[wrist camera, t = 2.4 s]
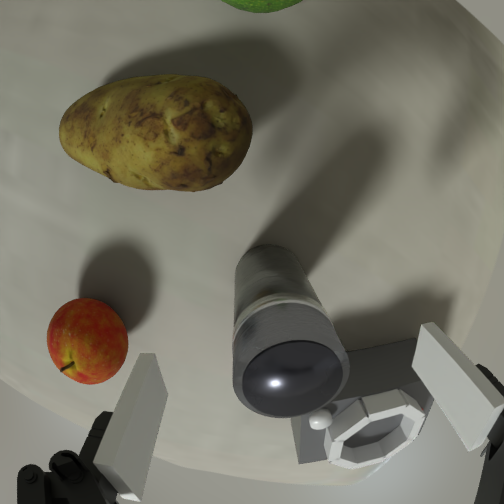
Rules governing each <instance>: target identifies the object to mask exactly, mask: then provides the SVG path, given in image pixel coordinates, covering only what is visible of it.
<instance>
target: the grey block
mask: <svg viewBox="0 0 504 504" xmlns="http://www.w3.org/2000/svg"><path fill="white" fill-rule="evenodd" d="M417 342H418V341H417V340H416V338H413V339H409V340H405V341H401V342H396V343H392V344H387V345H382V346H377V347H372V348H367V349H362V350H356V351H351V352H346V353H347V355H348V358H349V362H350V372H349V377H348V380H347V382H346V384H345V386H344V388H343V389H342V391H341V392H340V393H339V394H338V395H337V396H336V398H334V399H333V400H332V401H331V402H330V403H328V404H327V405H325V406H324V407H322V408H320V409H318V410H316V411H314V412H312V413H309V414H306V415H302V416H298V417H291V425H292V430H293V435H294V441H295V446H296V452H297V457H298V462H299V464H303V463H310V462H316V461H321V460H327V459H328V462H329V463H331V464H334V465H337V466H341V467H344V468H347V469H352V468H353V469H356V468H360V467H364V466H368V465H372V464H375V463H379V462H382V461H384V460H385V459H389V458H390V457H392V456H393V455H394V454H396V453H397V452H399V451H400V450H401V449H403V448H404V447H405V446H407V445H408V444H410V443H411V442H412V441H413V440H414V438H416V437H417V435H419V433H420V431H421V429H422V427H423V425H424V422H425V420H426V418H427V416H428V413H429V411H430V409H431V406H432V404H433V401H434V398H433V396H432V395H431V393H430V392H429V390H428V389H427V388H426V386H425V385H424V383H423V382H422V380H421V379H420V377H419V376H418V375H417V373H416V372H415V370H414V369H413V368H412V363H413V359H414V355H415V351H416V346H417Z"/></svg>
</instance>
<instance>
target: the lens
mask: <svg viewBox="0 0 504 504" xmlns="http://www.w3.org/2000/svg"><path fill="white" fill-rule="evenodd" d="M232 351H233V388H234V391H235V393H236V396H237V397H238V399H239V400H240V401H241V402H242V403H243V404H244V405H245V406H246V407H247V408H249V409H250V410H252V411H254V412H256V413H258V414H261V415H264V416H268V417H275V418H291V417H298V416H302V415H306V414H309V413H312V412H314V411H316V410H318V409H320V408H322V407H324V406H325V405H327V404H328V403H330V402H331V401H332V400H333V399H334V398H336V396H337V395H338V394H339V393H340V392H341V391H342V389H343V388H344V386H345V384H346V382H347V380H348V377H349V372H350V362H349V358H348V355H347V353H346V351H345V349H344V347H343V345H342V343H341V341H340V339H339V337H338V335H337V333H336V331H335V328H334V325H333V323H332V322H331V320H330V318H329V316H328V314H327V312H326V311H325V309H324V308H323V306H322V304H321V303H320V301H319V299H318V297H317V295H316V293H315V291H314V289H313V287H312V286H311V284H310V282H309V280H308V278H307V276H306V274H305V272H304V271H303V269H302V267H301V265H300V263H299V261H298V260H297V258H296V257H295V255H294V254H293V253H292V252H290V251H289V250H288V249H286V248H284V247H281V246H278V245H272V244H268V245H261V246H258V247H255V248H253V249H251V250H250V251H248V252H247V253H246V254H245V255H244V256H243V257H242V258H241V259H240V261H239V263H238V265H237V268H236V272H235V298H234V330H233V339H232Z"/></svg>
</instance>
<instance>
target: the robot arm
mask: <svg viewBox="0 0 504 504" xmlns="http://www.w3.org/2000/svg"><path fill="white" fill-rule="evenodd" d="M412 368H413V369H414V370H415V372H416V373H417V375H418V376H419V377H420V379H421V380H422V382H423V383H424V385H425V386H426V388H427V389H428V390H429V392H430V393H431V395H432V396H433V398H434V399H435V401H436V402H437V404H438V405H439V407H440V408H441V410H442V411H443V413H444V414H445V415H446V417H447V419H448V420H449V422H450V423H451V425H452V426H453V428H454V429H455V431H456V433H457V434H458V435H459V437H460V439H461V440H462V442H463V444H464V445H465V447H466V448H467V450H468V451H471V450H473V449H475V448H477V447H479V446H481V445H482V443H483V442H484V440H485V438H486V437H488V439H489V440H490V441H489V443H488V444H487V446H486V447H485V449H484V450H483V451H482V453H481V455H480V456H481V457H482V456H483V455H484V453H485V452H486V455H485V461H484V466H483V470H482V475H481V480H480V483H479V487H478V492H477V495H476V499H475V502H474V504H504V386H503V385H502V384H501V383H500V382H498V380H497V378H496V377H494V376H493V374H492V373H491V372H490V371H489V370H488V369H487V368H486V367H484V366H482V365H480V364H477V365H474V364H473V362H472V361H471V360H469V358H468V357H467V356H466V355H465V354H464V353H463V352H462V351H461V350H460V349H459V348H458V347H457V346H456V345H455V344H454V342H453V341H452V340H451V339H450V338H449V337H448V336H447V335H446V334H445V333H444V332H443V331H442V330H441V329H440V328H439V327H438V326H437V325H436V324H435V323H434V322H429V323H425V324H421V328H420V333H419V337H418V342H417V346H416V351H415V355H414V359H413V363H412ZM167 397H168V393H167V390H166V387H165V384H164V381H163V378H162V375H161V372H160V368H159V365H158V362H157V359H156V355H155V353H140V355H139V357H138V359H137V361H136V364H135V366H134V368H133V370H132V372H131V374H130V377H129V379H128V381H127V383H126V385H125V388H124V390H123V392H122V394H121V396H120V399H119V401H118V403H117V406H116V408H115V410H114V412H107V411H103V412H102V413H101V414H100V415H99V416H98V417H97V418H96V419H95V421H94V423H93V425H92V429H91V430H90V432H89V434H88V437H87V438H86V441H85V443H84V445H83V447H82V449H81V452H80V454H79V456H78V455H77V454H76V453H74V452H73V451H69V450H63V451H59V452H57V453H56V454H54V456H52V458H51V459H50V462H49V469H50V470H51V471H52V472H43V470H42V469H41V468H40V467H38V466H37V465H33V464H29V465H26V466H24V467H23V468H21V470H20V471H19V472H18V477H17V504H119V503H118V502H117V501H116V496H117V493H119V495H120V496H121V497H122V498H123V499H128V500H133V501H140V502H141V500H142V495H143V491H144V487H145V483H146V478H147V474H148V470H149V466H150V462H151V458H152V454H153V450H154V446H155V442H156V438H157V434H158V431H159V427H160V423H161V419H162V416H163V412H164V408H165V405H166V401H167Z"/></svg>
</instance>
